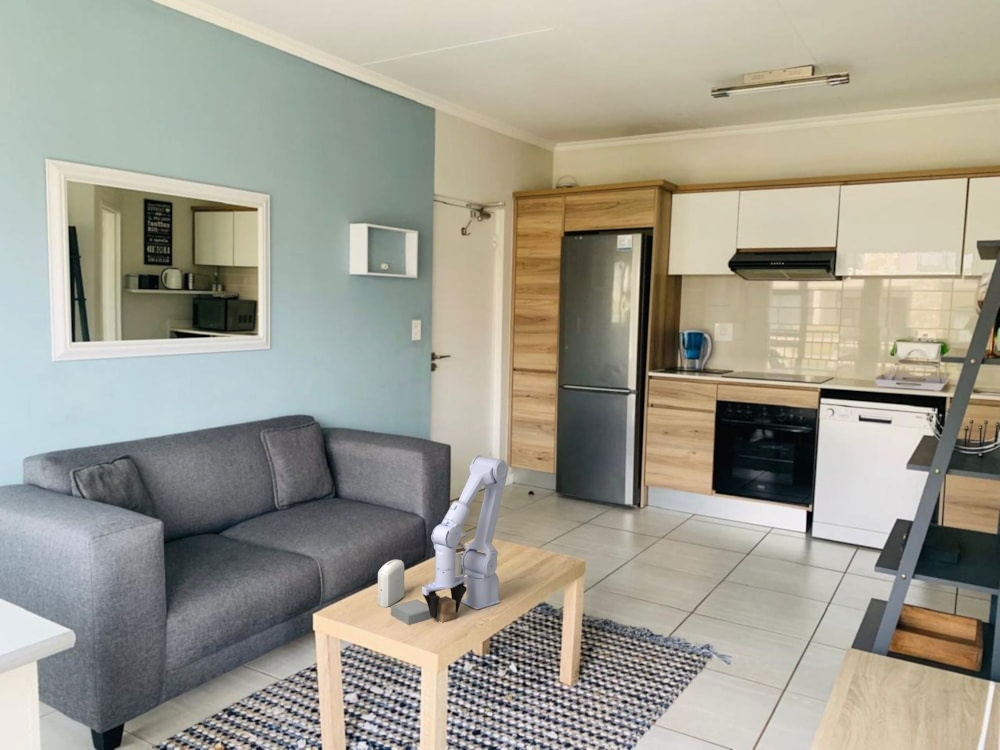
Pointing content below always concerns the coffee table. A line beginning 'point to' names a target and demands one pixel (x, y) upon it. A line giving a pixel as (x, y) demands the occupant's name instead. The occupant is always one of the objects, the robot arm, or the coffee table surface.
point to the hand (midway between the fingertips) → (444, 613)
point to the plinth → (411, 612)
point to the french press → (459, 548)
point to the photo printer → (390, 583)
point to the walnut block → (446, 609)
